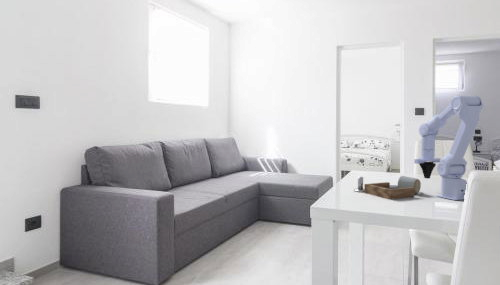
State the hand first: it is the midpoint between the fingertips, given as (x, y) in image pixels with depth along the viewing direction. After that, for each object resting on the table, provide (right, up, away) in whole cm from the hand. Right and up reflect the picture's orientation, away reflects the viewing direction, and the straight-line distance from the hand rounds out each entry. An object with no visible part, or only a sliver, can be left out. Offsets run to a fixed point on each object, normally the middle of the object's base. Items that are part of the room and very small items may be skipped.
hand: (427, 178), depth 172 cm
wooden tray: (-21, -7, -8) cm, 23 cm away
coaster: (-12, -6, +8) cm, 16 cm away
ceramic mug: (-10, -7, -4) cm, 12 cm away
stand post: (-31, -6, 0) cm, 32 cm away
